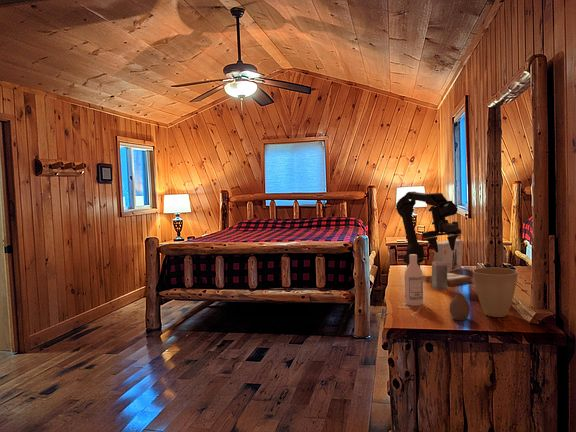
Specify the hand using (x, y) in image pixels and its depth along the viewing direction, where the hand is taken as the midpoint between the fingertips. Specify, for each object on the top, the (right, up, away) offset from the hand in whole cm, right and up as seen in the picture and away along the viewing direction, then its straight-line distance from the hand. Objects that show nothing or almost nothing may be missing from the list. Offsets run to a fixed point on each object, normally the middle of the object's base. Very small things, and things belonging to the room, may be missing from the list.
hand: (445, 251), depth 224 cm
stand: (+3, -15, +4) cm, 15 cm away
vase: (-13, -20, -55) cm, 60 cm away
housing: (-5, -16, -9) cm, 19 cm away
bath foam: (-23, -19, -34) cm, 45 cm away
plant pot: (+1, -19, -52) cm, 55 cm away
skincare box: (+12, -13, +30) cm, 35 cm away
